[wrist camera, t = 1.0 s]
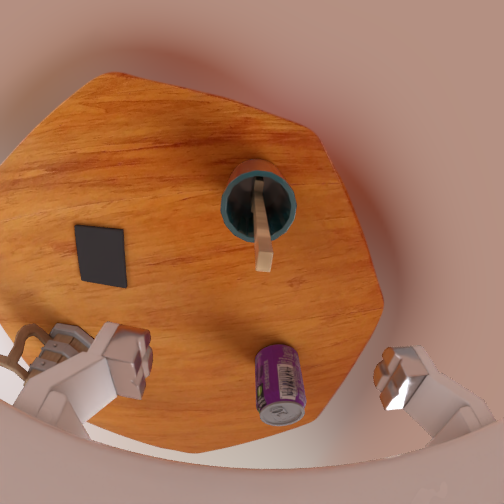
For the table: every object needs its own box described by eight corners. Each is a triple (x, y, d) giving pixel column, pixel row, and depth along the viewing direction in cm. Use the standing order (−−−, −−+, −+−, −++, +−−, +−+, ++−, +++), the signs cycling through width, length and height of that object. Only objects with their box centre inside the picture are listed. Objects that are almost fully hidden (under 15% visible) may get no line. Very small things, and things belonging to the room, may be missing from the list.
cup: (232, 155, 33) (224, 166, 24) (287, 162, 33) (302, 176, 24) (226, 208, 35) (217, 238, 26) (279, 215, 36) (289, 246, 27)
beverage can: (246, 353, 45) (245, 412, 34) (284, 334, 44) (292, 394, 33) (269, 375, 48) (273, 432, 37) (305, 359, 46) (316, 416, 35)
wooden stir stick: (254, 172, 33) (260, 231, 15) (262, 173, 33) (277, 233, 15) (250, 199, 34) (252, 288, 16) (258, 200, 34) (268, 289, 16)
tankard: (116, 356, 46) (88, 419, 33) (92, 379, 50) (67, 433, 36) (35, 284, 40) (-13, 334, 27) (21, 319, 44) (-17, 364, 30)
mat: (76, 224, 36) (74, 225, 35) (123, 229, 36) (121, 230, 36) (83, 278, 40) (81, 280, 39) (127, 286, 40) (126, 288, 39)
